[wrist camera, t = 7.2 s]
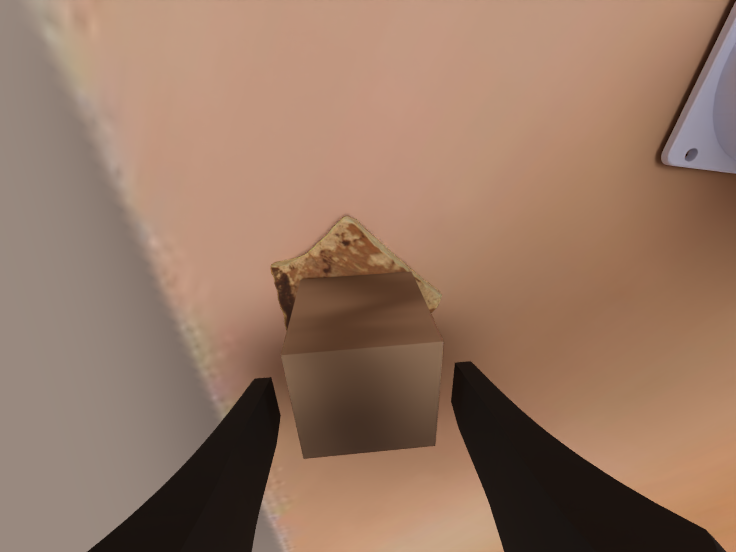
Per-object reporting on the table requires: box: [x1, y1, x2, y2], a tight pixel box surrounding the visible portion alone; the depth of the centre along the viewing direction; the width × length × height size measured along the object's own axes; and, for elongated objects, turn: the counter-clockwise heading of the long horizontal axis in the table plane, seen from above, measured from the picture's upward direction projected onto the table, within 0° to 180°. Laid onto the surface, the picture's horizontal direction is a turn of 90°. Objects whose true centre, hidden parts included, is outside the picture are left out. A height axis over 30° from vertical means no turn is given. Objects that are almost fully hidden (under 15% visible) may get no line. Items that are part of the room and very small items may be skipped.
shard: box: [271, 216, 442, 330], centre depth 16 cm, size 11×8×2 cm
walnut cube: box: [281, 271, 444, 459], centre depth 13 cm, size 5×5×5 cm
